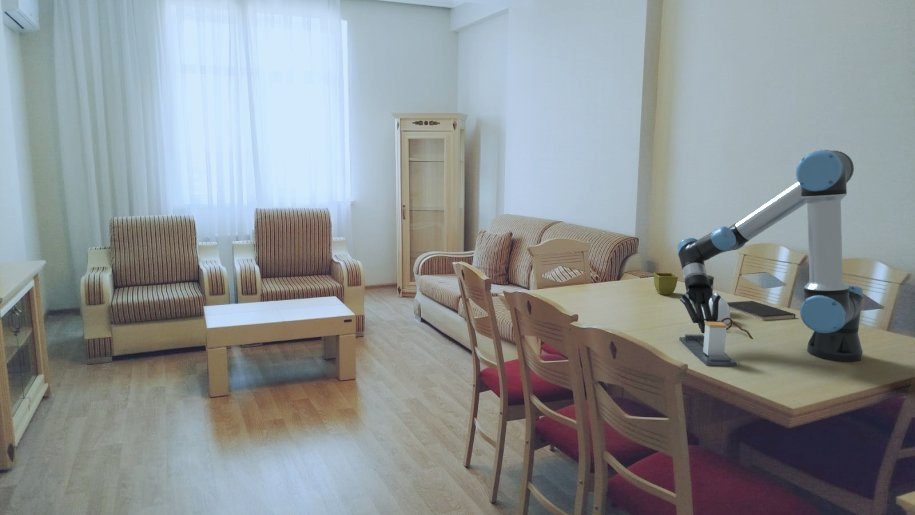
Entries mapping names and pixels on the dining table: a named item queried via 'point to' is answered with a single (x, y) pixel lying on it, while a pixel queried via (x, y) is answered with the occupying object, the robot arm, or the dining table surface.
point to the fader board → (696, 347)
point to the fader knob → (714, 338)
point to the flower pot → (665, 283)
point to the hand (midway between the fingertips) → (710, 341)
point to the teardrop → (720, 309)
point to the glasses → (735, 325)
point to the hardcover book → (759, 310)
